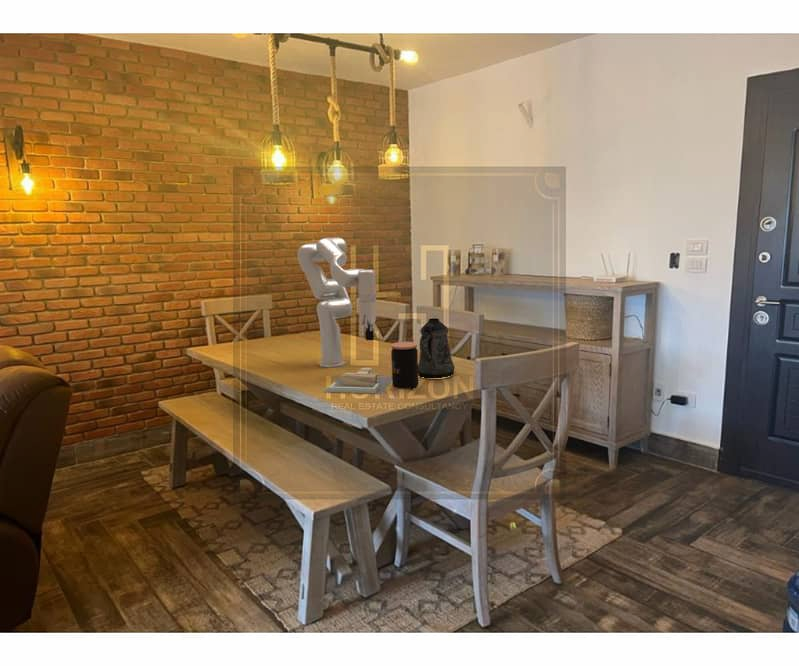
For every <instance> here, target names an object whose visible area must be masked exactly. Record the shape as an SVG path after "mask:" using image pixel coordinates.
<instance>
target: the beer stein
mask: <svg viewBox="0 0 799 666" xmlns="http://www.w3.org/2000/svg"><path fill="white" fill-rule="evenodd" d="M449 330H450V329H449V328H448V327H447V326H446V325H445V324H444V323H443V322H441V321H440V319H439V318H436V317H435V318H434V317H433V318H429V319H428V320H427V322H426V323H425V324H424V325H423V326H422V327H421V329H420V330H419V331H420V334H421V336H420V339H419V350H420V352H419V359H418V377H419V376H420V378H421V377H424V378H423V379H425V378H442V377H448V376H451V375H453V374H455V363H454V362H453V359H452V355H451V349H450V343H449V339H448V334H449ZM453 376H454V375H453Z"/></svg>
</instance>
